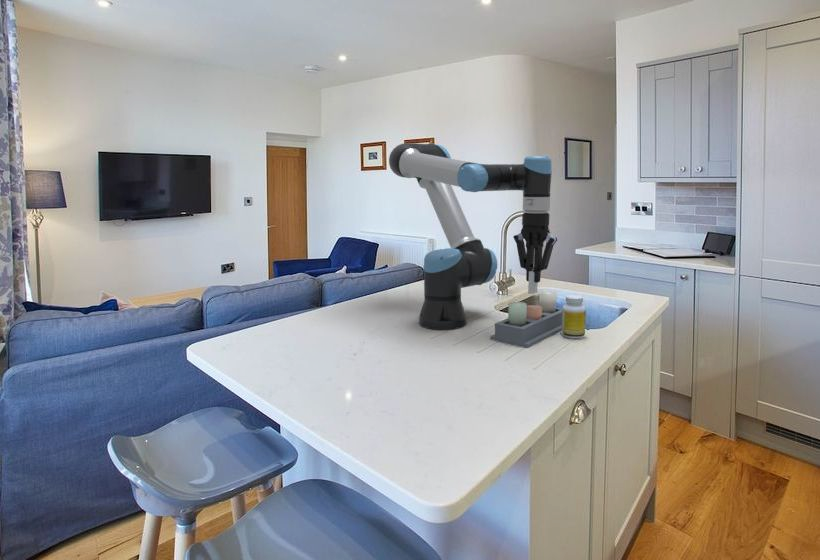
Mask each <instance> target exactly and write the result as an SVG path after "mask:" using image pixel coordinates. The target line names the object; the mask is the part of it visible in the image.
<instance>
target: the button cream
mask: <svg viewBox="0 0 820 560" xmlns="http://www.w3.org/2000/svg"><path fill="white" fill-rule="evenodd" d="M538 297H539V299H538V300H539V302H538V303H539V304H538V306H541V307H542V312H545V313H551V314H552V313H554V312H556V308H557V292H556V291H552V290H543V291H540V292H539V296H538Z"/></svg>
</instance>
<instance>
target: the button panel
mask: <svg viewBox="0 0 820 560" xmlns="http://www.w3.org/2000/svg"><path fill="white" fill-rule="evenodd" d="M561 331H562V307H561V308H560V307H556V312H554V313H552V314H551V313H545V312H542V318H541V319H538V320H535V319H529V318H526V325H524V326H522V327H519V326H514V325H509V324H508V317H507V318H505V319H503V320H500V321H498V322H495V323H494V334H492V335H490V336H489V340H492V341H495V342H501V343H503V344H504V343H505V344H510V345H513V346H519V347H523V348H526V349H527V348H530V347H533V346H535V345H536V344H539V343H541V342H542V341H544V340H546V339H548V338H550V337H552V336H554V335H556V334H558V333H561Z"/></svg>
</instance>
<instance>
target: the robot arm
mask: <svg viewBox="0 0 820 560" xmlns="http://www.w3.org/2000/svg"><path fill="white" fill-rule="evenodd" d="M388 164H389V165H388V166H389V168H390V170H391V172H392V173H394V174H395V175H396V176H398V177H401V178H406V179H412V178H413V179H414V178H415V179H416V181H417V183H418V185H419V187H420V188H422V189H425V191H426V194H427V196H428V198H429V200H430V202H431V206H432V207H433V209H434V212H435V215H436V217H437V219H438V221H439V223H440V226H441V228H442V230H443V233H444V235H445V237H446V239H447V242H448V244H449V247H450V248H449V247H448V248H443V249H442V248H440V249H435V250H432V251H429V252H427V253H426V254H425V256H424V258H423V260H424V261H423V267H422V268H423V287H424V288H423V290H424V292H423V293H424V294H423V295H424V299H423V300H424V301H423V304H422V306H421V309H420V314H419V318H418V319H419V321H418V323H419V325H420V326H421V327H424V328H427V329H432V330H455V329H459V328H463V327H465V326H466V325H467V315H466V313H465V309H464V305H463V302H462V288H463V289H465V288H469V287H473V286H481V285H483V284H487V283H489V282H490V281H492V280H493V279H494V278H495V276H496V273H497V270H498V259H497V256H496V254H495V252H494V251H493V250H491V249H490V248H488V247H484V245H483V242H482V241H481V239H480V238H476V237H475V236H474V233H473V231H472V229H471V226H470V225H469V222H468V220H467V218H466V216H465V214H464V211H463V209H462V207H461V204H460V202H459V200H458V197H457V196H456V193H455V191H454V189H453V187H454V186H455V187H458V188H460V189H462V190H463V191H465V192H470V193H478V192H495V191H496V192H498V191H499V192H500V191H501V192H502V191H522V193H523V194H522V211H523V212H522V215H521V216H522V219H521V225H522V228H521V230H520V232H519V233H518V234H515V235H513V239H514V242H515V244H516V248H517V254H518V260H519V265H520V266H519V267H520V268H521V269H524V270H526V276H525V278H526V279H525V280H526V282H528V285H527V287H528V288H527V293H528V294H531V295H534V294H537V293H538V283H540V282H541V277H542V276H541V275H542V274H541V273H542V271H545V270H547V269H548V266H549V263H550V260H551V256H552V253H553V250H554V246H555V244H556V243H557V242H558V238H557V237H554V236H553V235H552V234H551V231H550V229H549V226H550V213H549V211H551V209H550V208H551V183H552V174H553V171H552V158H551V157H550V156H547V155H542V156H541V155H538V156H537V155H533V156H526V157H524V160H523V163H519V164H517V163H516V164H515V163H514V164H513V163H511V164H508V163H504V164H503V163H501V164H500V163H499V164H497V163H496V164H495V163H494V164H489V163H487V164H486V163H484V164H483V163H477V162H473V161H472V162H471V161H465V160H461V159H460V160H459V159H455V158H452V157H451V154H450V153H449V151H448V149H447V148H445V147H444V146H443V145H442V144H436V143H415V142H405V143H400V144H397V145H396V146H395V147H394V148H392V151H391V152H390V154H389V158H388ZM452 186H453V187H452ZM545 241H546V245H544V243H545ZM544 246H545V247H544ZM543 249H544V250H543Z"/></svg>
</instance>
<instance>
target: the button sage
mask: <svg viewBox="0 0 820 560" xmlns="http://www.w3.org/2000/svg"><path fill="white" fill-rule="evenodd" d="M527 306H528V305H527V302H522V301H511V302H509V303H508V307H507V308H508V313H507V314H508V315H507V316H508V317H507V318H508V324H509V325H514V326H519V327H522V326H524V325H526V314H527Z"/></svg>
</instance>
